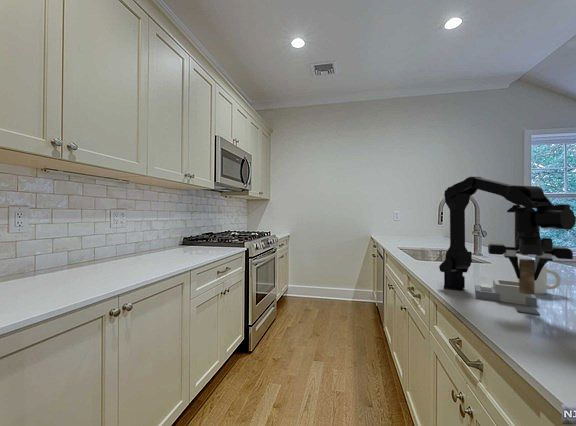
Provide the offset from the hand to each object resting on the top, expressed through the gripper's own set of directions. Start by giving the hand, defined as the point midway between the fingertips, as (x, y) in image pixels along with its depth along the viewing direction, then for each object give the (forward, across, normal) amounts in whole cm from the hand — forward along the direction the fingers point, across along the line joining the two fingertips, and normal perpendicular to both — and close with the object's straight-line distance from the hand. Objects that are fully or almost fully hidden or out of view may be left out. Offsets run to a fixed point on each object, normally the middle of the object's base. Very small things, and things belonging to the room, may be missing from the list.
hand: (526, 279), depth 83 cm
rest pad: (+10, 0, 0) cm, 10 cm away
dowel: (+4, 0, 0) cm, 4 cm away
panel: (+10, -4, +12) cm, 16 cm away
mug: (+10, +8, +28) cm, 31 cm away
